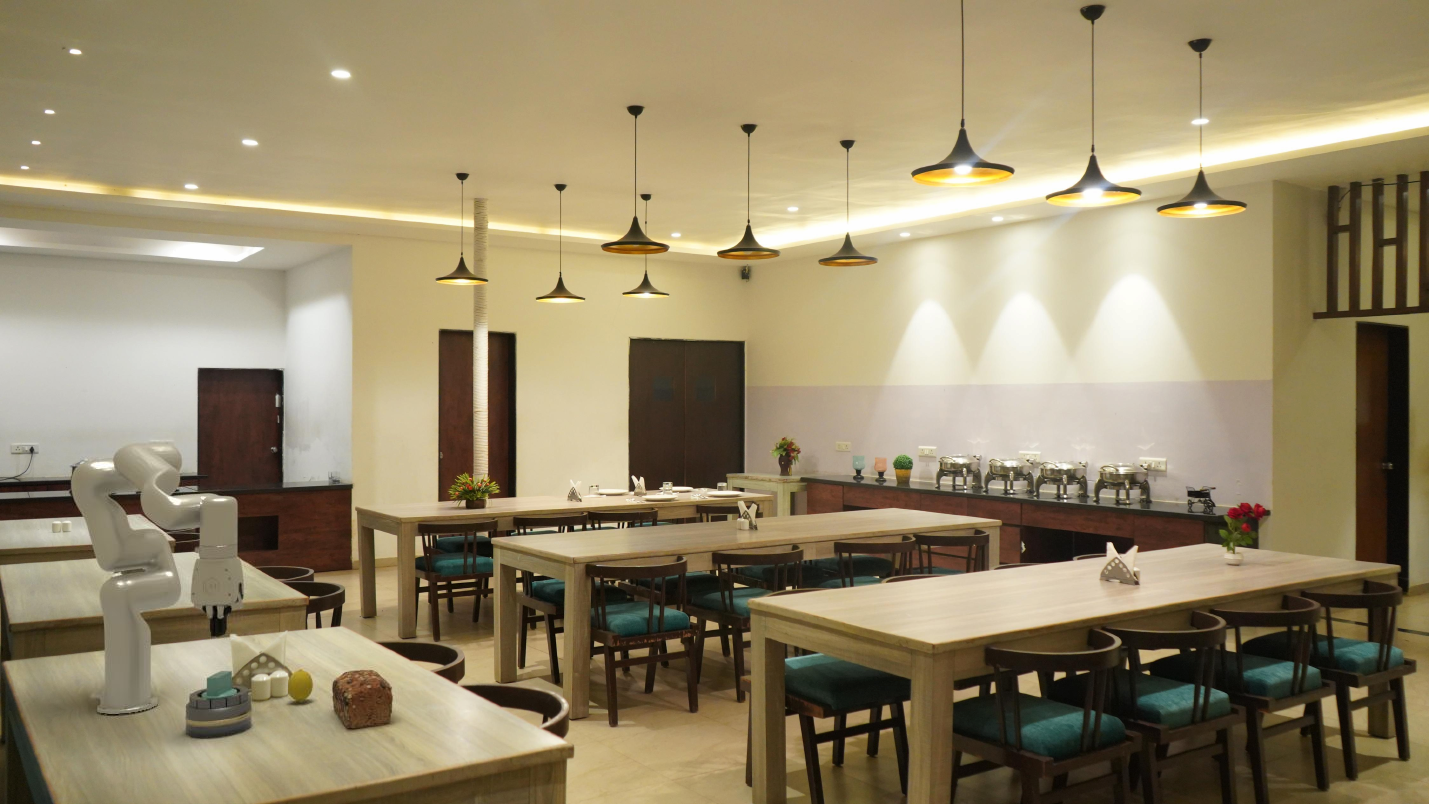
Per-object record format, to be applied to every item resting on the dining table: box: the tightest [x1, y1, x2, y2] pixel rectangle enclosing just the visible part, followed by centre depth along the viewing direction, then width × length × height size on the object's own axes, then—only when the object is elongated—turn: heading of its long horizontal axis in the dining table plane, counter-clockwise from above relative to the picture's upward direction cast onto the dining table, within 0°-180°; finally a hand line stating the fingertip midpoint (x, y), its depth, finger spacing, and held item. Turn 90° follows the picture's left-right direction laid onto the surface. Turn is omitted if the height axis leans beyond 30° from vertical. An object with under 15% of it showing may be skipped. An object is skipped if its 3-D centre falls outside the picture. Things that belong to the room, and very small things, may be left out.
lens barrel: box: [185, 685, 253, 739], centre depth 227 cm, size 13×13×8 cm
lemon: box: [287, 668, 314, 704], centre depth 247 cm, size 6×6×8 cm
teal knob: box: [202, 670, 237, 698], centre depth 227 cm, size 7×7×6 cm
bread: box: [331, 669, 394, 729], centre depth 235 cm, size 19×11×10 cm, turn 29°
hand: (218, 635), depth 227 cm, fingers closed
